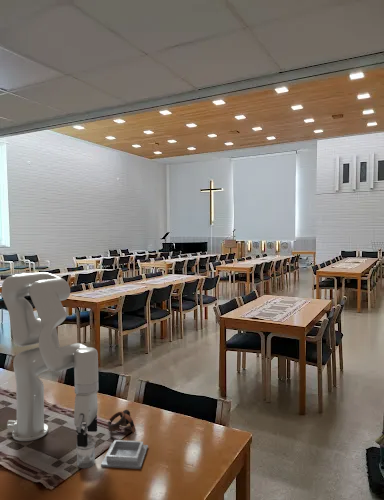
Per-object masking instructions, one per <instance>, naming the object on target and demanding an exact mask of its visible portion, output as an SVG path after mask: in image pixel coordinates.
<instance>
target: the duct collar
mask: <svg viewBox="0 0 384 500" xmlns="http://www.w3.org/2000/svg"><path fill="white" fill-rule="evenodd" d="M148 448H149V445H148V444H144V441H141V440H124V439H114V441H113V442H111V444H110V445H109V448H108V450H107V452H106V454H105V456H104V458H103V460H102V462H101V464H100V467H101V468H117V469H118V468H119V469H131V470H132V469H135V470H141V469H142V467H143V463H144V460H145V457H146V455H147V451H148Z"/></svg>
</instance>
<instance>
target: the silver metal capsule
mask: <svg viewBox="0 0 384 500" xmlns="http://www.w3.org/2000/svg"><path fill="white" fill-rule="evenodd" d="M95 446H96V440H95V438H92V437H88V446H87V447H78V446H77V443H76V466H77V467H78V468H80V469H87V468H88V469H89V468H91V467H93V466H94V465H95V463H96V462H95V461H96V460H95V459H96V455H95V451H96V447H95Z"/></svg>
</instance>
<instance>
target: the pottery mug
mask: <svg viewBox="0 0 384 500" xmlns="http://www.w3.org/2000/svg"><path fill="white" fill-rule="evenodd" d="M118 417H120V419H119V420H118V421H117V422H115V423H113V424H112V422H113V421H114V420H115V419H116V418H118ZM128 425H129V427H130V428H131V432H132V434H135V433H136V426H135V423H134V420H133V418H132V417H131V412H130V411H129V409H124V410H123V411H118V412H116V413H114V414H113V415H112V416H111V417H110V418H109V421H108V422H107V426H108V431H109V432H116V431H118V432H120V429H121V428H120V427H127V426H128Z"/></svg>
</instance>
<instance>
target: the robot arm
mask: <svg viewBox="0 0 384 500" xmlns="http://www.w3.org/2000/svg"><path fill="white" fill-rule="evenodd" d="M1 284H2V285H1V296H2V299H3V302H4V305H5V307H6V308H7V311H8V315H9V321H10V322H9V323H10V328H11V333H12V337H13V341H14V343H15V345H16V346H17V347H20V348H21V347H22V348H23V347H28V346H32V345H33V346H34V345H37V344H38V347H34V348H29V349H26V350H22V351H21V352H19V353H17V354H16V355H15V356H14V358H13V362H12V363H13V364H12V365H13V367H12V368H13V371H14V376H15V386H16V387H15V388H16V389H15V390H16V391H15V393H16V399H15V400H16V420H14V419H8V420H7V423H6V428H7V429H13V431H12V433H11V436H12V438H13V440H16V441H18V442H30V441H31V442H32V441H34V440H35V441H36V440H39V439H40V438H42V437H44V436H45V435H47V434H48V433H49V425H48V424H46V423H45V386H44V383H43V381H42V379H40V377H39V375H40V374H42V373H45V372H47V371H50V372H53V373H59V372H62V371H65V370H68V369H72V368H73V372H74V373H73V374H74V379H73V380H74V394H75V398H74V399H75V400H74V411H73V412H74V414H73V417H74V418H73V419H74V420H73V422H74V423H73V425H74V426H75V432H76V439H77V440H76V444H77V446H78V447H87V446H88V438H89V437H88V436H89V434H88V433H87V432H91V433H95V432H97V431H98V419H97V418H98V408H99V407H98V392H99V360H98V359H99V353H98V350H97V349H96V348H95V347H91V346H89V347H88V346H87V345H85V344H84V343H81V342H75V343H71V344H66V345H63V346H60V340H59V334H58V329H57V327H58V326H60V325H61V324H63V322H64V321H65V320H66V319H67V311H66V310H65V308H64V305H63V303H62V301H65V300H67V299H69V298H70V296H71V287H70V284H69V283H68V281H66V279H64V278H63V277H60V276H58V275H55V274H52V273H49V272H46V271H40V272H39V271H38V272H28V273H27V272H25V273H17V274H12V275H9V276H7V277H6V278H5V279H4V280H3V282H2V283H1ZM28 296H30V299H31V302H32V303H33V305H34V307H33V305H32V304H31V303H30V301H29V300H27V299H26V298H25V297H28ZM34 308H35V310H36V313H37V315H38V316H39V317H38V318H36V317H35V313H34ZM77 446H76V447H77Z"/></svg>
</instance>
